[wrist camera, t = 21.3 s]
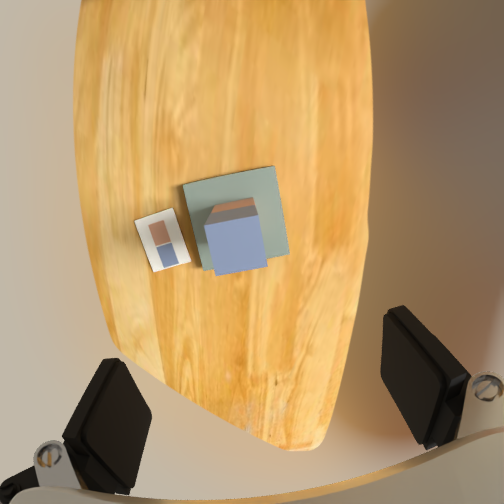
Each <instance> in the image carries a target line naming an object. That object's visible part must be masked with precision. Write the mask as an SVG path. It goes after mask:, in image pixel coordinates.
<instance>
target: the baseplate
mask: <svg viewBox="0 0 504 504" xmlns="http://www.w3.org/2000/svg"><path fill="white" fill-rule="evenodd" d="M183 189H184V193H185V198H186V202H187V206H188V210H189V215H190V219H191V223H192V227H193V231H194V235H195V239H196V243H197V247H198V251H199V255H200V259H201V263H202V267H203V271H206V270H211V269H214V266H213V262H212V258H211V254H210V250H209V245H208V241H207V237H206V232H205V228H204V225H205V223H206V221H207V219H208V217H209V215H210V213H211V212H212V210H213V208H214V206H215V205H218V204H223V203H227V202H232V201H237V200H242V199H247V198H252V197H253V199H254V202H255V205H256V209H257V212H258V216H259V221H260V227H261V232H262V238H263V243H264V249H265V254H266V259H268V258H273V257H278V256H283V255H288V254H290V252H289V246H288V240H287V234H286V228H285V222H284V216H283V210H282V204H281V198H280V193H279V187H278V182H277V176H276V171H275V166H269V167H264V168H258V169H253V170H248V171H243V172H238V173H233V174H228V175H223V176H218V177H214V178H209V179H205V180H200V181H196V182H191V183H187V184H184V185H183Z"/></svg>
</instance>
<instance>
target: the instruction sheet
mask: <svg viewBox="0 0 504 504" xmlns="http://www.w3.org/2000/svg"><path fill="white" fill-rule="evenodd" d="M134 222H135V224H136V227H137V230H138V233H139V235H140V238H141V241H142V243H143V246H144V249H145V251H146V254H147V257H148V259H149V262H150V264H151V267H152V269H153V272H156V271H159V270H163V269H166V268H170V267H173V266H177V265H180V264H183V263H187V262H190V261H191V259H190V256H189V253H188V250H187V248H186V245H185V242H184V239H183V236H182V233H181V230H180V228H179V225H178V222H177V219H176V216H175V213H174V210H173V208H170V209H167V210H164V211H161V212H158V213H155V214H152V215H149V216H147V217H144V218H141V219H138V220H135V221H134Z"/></svg>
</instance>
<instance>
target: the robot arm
mask: <svg viewBox="0 0 504 504" xmlns="http://www.w3.org/2000/svg"><path fill="white" fill-rule="evenodd" d="M381 377H382V380H383V382H384V383H385V385H386V387H387V389H388V391H389V392H390V394H391V396H392V398H393V399H394V401H395V403H396V405H397V407H398V408H399V410H400V412H401V414H402V416H403V417H404V419H405V421H406V423H407V425H408V426H409V428H410V430H411V432H412V434H413V436H414V438H415V440H416V441H417V443H418V444H423V445H424V447H425V449H426V450H428V449H430V448H433V447H435V446H438V448H436V449H433V450H431V451H429V452H426V453H424V454H421V455H419V456H417V457H414V458H412V459H409V460H406V461H404V462H401V463H398V464H396V465H393V466H390V467H387V468H384V469H381V470H379V471H376V472H372V473H369V474H366V475H363V476H359V477H356V478H353V479H349V480H345V481H341V482H338V483H334V484H329V485H325V486H321V487H316V488H311V489H307V490H301V491H296V492H290V493H283V494H277V495H270V496H261V497H252V498H241V499H226V500H166V499H150V498H139V497H131V496H122V495H115V493H117V494H124V495H129V494H130V490H131V488H133V487H134V486H135V482H136V478H137V474H138V470H139V466H140V461H141V458H142V454H143V450H144V446H145V442H146V438H147V435H148V431H149V427H150V424H151V420H152V414H151V411H150V409H149V407H148V405H147V404H146V402H145V400H144V398H143V397H142V395H141V393H140V391H139V389H138V387H137V386H136V384H135V382H134V380H133V378H132V376H131V374H130V372H129V370H128V368H127V367H126V364H125V363H124V362H122V361H120V359H119V358H110V359H103V360H102V362H101V364H100V365H99V367H98V369H97V371H96V372H95V374H94V376H93V378H92V380H91V381H90V383H89V385H88V387H87V389H86V390H85V392H84V394H83V396H82V398H81V400H80V402H79V403H78V406H77V407H76V409H75V411H74V413H73V415H72V417H71V419H70V421H69V423H68V425H67V427H66V429H65V431H64V433H63V435H62V437H63V439H64V440H65V441H64V443H63V444H62V443H61V442H59V441H55V440H52V441H48V442H45V443H43V444H42V445H41V446H40V447H39V448H38V449H37V450H36V452H35V454H34V466H32V467H30V468H28V469H26V470H24V471H22V472H20V473H18V474H16V475H14V476H12V477H10V478H8V479H6V480H5V481H4V482H3V483H2V484H1V486H0V504H504V378H503V377H502V376H501V375H499V374H497V373H495V372H490V371H487V372H480V373H477V374H475V375H474V376H471V375H470V374H469V373H468V372H467V370H466V369H465V368H464V367H463V366H462V365H461V364H460V363H459V361H457V359H456V358H455V357H454V356H453V355H452V354H451V353H450V351H449V350H448V349H447V348H446V347H445V346H444V345H443V344H442V343H441V342H440V341H439V340H438V339H437V338H436V336H434V335H433V334H432V333H431V332H430V331H429V330H428V329H427V328H426V327H425V326H424V325H423V324H422V323H421V322H420V321H419V320H418V319H417V318H416V317H415V316H414V315H413V314H412V313H411V312H410V311H409V310H408V309H407V308H406V307H405V306H404V305H402V306H398V307H395V308H391V309H389V310H388V312H387V314H385V315H384V317H383V340H382V357H381Z"/></svg>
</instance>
